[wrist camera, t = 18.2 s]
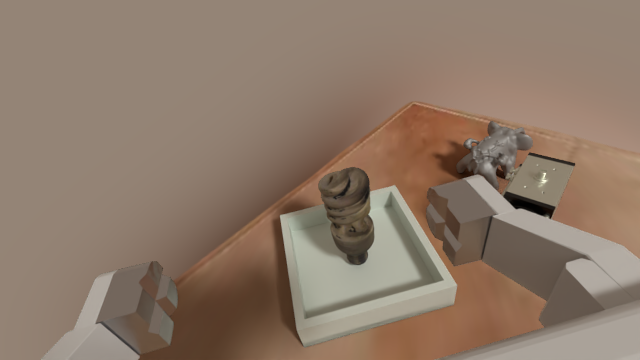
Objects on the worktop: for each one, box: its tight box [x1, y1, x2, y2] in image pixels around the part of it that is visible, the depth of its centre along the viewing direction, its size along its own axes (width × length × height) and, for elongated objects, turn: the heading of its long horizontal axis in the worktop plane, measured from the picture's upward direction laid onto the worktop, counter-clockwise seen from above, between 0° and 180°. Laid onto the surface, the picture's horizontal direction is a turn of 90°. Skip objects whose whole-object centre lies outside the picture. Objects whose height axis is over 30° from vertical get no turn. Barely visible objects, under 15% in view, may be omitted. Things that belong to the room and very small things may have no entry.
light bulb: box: [318, 167, 374, 265], centre depth 39 cm, size 6×6×15 cm
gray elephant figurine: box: [456, 121, 533, 190], centre depth 52 cm, size 9×12×8 cm
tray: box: [280, 185, 457, 347], centre depth 43 cm, size 18×18×4 cm
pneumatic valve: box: [502, 153, 575, 220], centre depth 39 cm, size 6×12×12 cm, turn 139°
